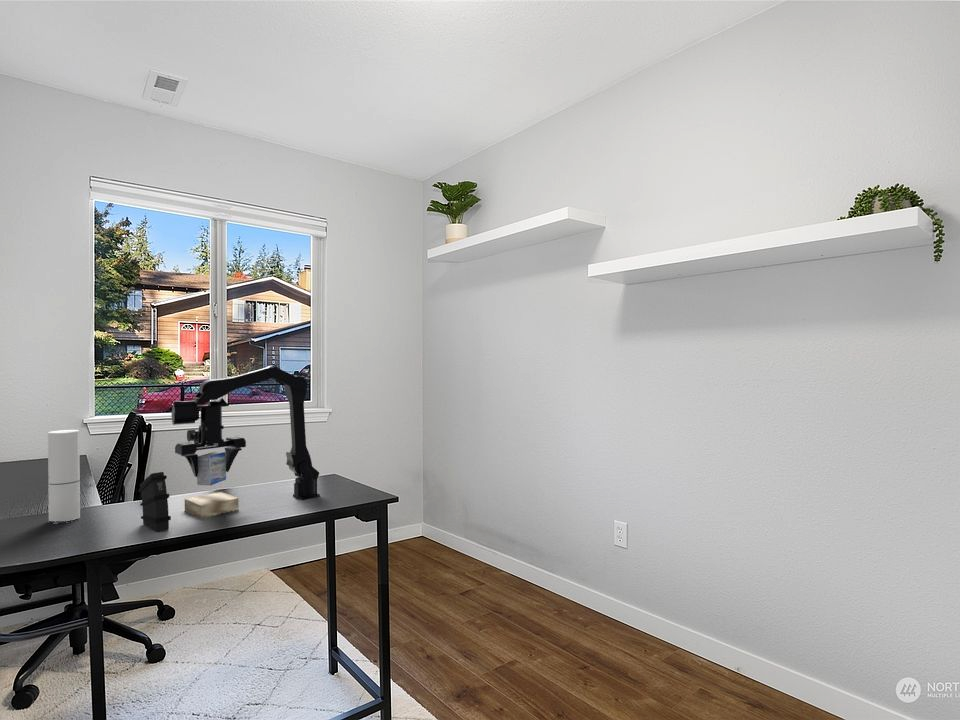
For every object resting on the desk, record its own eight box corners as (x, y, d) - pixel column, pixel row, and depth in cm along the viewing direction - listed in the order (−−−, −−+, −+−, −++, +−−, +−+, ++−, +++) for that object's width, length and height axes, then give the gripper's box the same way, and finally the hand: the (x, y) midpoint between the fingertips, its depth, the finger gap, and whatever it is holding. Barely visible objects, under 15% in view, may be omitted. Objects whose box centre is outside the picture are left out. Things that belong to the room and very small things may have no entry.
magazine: (159, 529, 147) (150, 473, 151) (144, 540, 155) (135, 487, 159) (175, 525, 150) (165, 471, 154) (159, 537, 158) (150, 485, 162)
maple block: (221, 504, 178) (221, 492, 178) (238, 511, 171) (238, 498, 171) (184, 512, 170) (184, 499, 170) (201, 519, 163) (201, 505, 163)
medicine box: (210, 485, 166) (210, 456, 166) (196, 485, 167) (196, 455, 167) (226, 479, 174) (226, 451, 174) (213, 479, 175) (213, 451, 175)
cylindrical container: (77, 514, 166) (76, 428, 166) (82, 519, 161) (81, 431, 161) (46, 519, 161) (45, 431, 161) (51, 525, 156) (50, 434, 156)
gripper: (230, 417, 182) (230, 465, 183) (167, 422, 169) (168, 475, 169) (246, 420, 175) (247, 470, 175) (182, 426, 161) (182, 481, 161)
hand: (211, 474), depth 170 cm, fingers closed on medicine box, 9 cm apart
